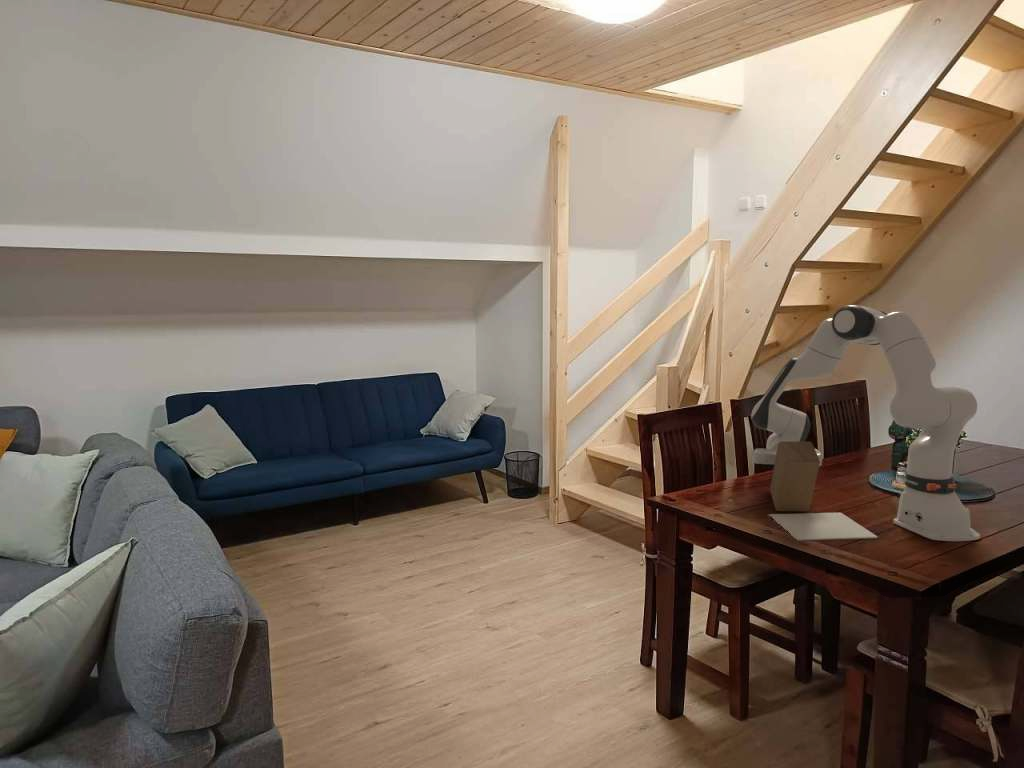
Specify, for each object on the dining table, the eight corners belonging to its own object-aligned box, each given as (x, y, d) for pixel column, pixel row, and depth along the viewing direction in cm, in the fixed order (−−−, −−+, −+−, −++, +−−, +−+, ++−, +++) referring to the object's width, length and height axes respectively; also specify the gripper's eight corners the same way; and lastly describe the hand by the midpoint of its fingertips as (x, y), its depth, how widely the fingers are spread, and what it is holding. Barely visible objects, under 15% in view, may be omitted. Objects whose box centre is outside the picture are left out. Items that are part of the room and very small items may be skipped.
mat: (877, 538, 198) (877, 536, 198) (797, 540, 198) (797, 538, 197) (840, 513, 219) (840, 512, 219) (767, 515, 218) (767, 514, 218)
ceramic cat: (885, 467, 271) (888, 414, 268) (893, 464, 275) (896, 412, 272) (942, 478, 255) (946, 421, 253) (950, 475, 259) (954, 419, 256)
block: (801, 490, 228) (812, 440, 217) (809, 513, 220) (821, 461, 209) (768, 490, 229) (777, 439, 218) (775, 512, 221) (785, 461, 210)
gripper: (750, 442, 239) (754, 451, 225) (817, 444, 234) (825, 454, 221) (750, 461, 240) (754, 471, 226) (816, 463, 235) (824, 474, 222)
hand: (790, 463), depth 224 cm, fingers closed
